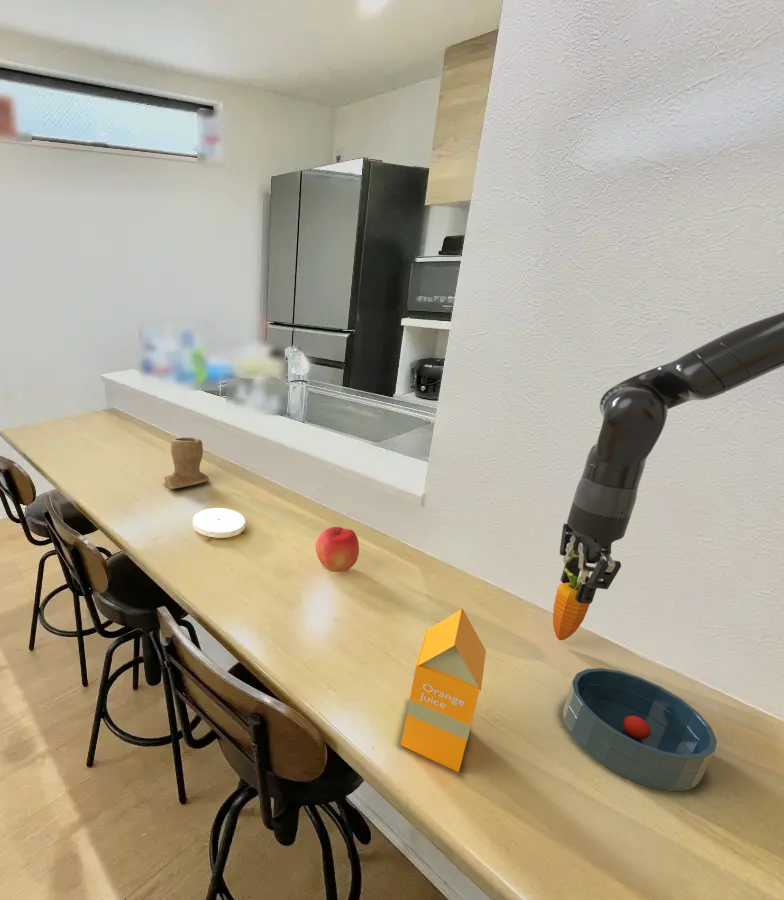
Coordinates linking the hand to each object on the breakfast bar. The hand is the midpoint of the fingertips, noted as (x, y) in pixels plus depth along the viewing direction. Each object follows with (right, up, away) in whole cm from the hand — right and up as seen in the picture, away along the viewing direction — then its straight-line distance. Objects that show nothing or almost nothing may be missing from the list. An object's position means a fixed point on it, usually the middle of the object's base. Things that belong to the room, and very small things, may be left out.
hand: (575, 592), depth 87 cm
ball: (-3, -15, -15) cm, 22 cm away
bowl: (-4, -17, -15) cm, 23 cm away
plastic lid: (-60, +4, +46) cm, 75 cm away
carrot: (0, -10, +4) cm, 11 cm away
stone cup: (-69, +14, +75) cm, 102 cm away
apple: (-34, -3, +27) cm, 44 cm away
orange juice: (-32, -17, -14) cm, 39 cm away
